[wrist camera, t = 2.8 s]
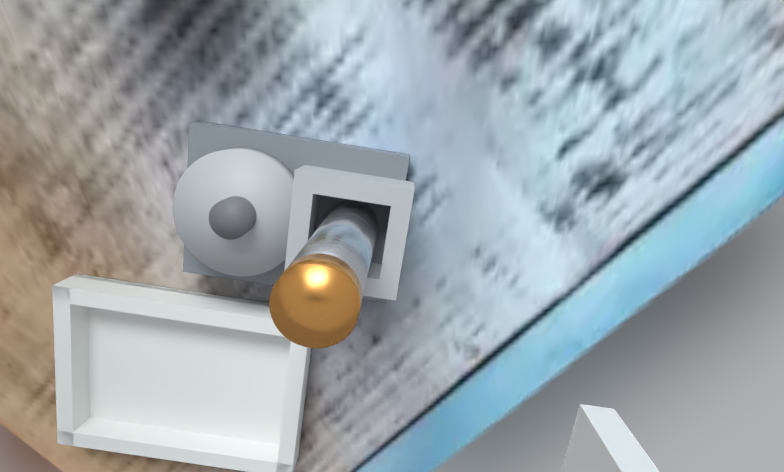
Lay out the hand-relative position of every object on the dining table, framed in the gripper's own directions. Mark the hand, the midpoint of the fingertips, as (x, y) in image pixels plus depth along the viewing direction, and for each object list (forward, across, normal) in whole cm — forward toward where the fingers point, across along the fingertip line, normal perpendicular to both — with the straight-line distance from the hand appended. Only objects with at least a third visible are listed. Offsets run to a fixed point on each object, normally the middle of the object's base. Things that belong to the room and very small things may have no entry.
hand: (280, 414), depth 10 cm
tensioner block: (+23, -5, 0) cm, 23 cm away
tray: (+23, -12, -14) cm, 30 cm away
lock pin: (+20, -1, 0) cm, 21 cm away
